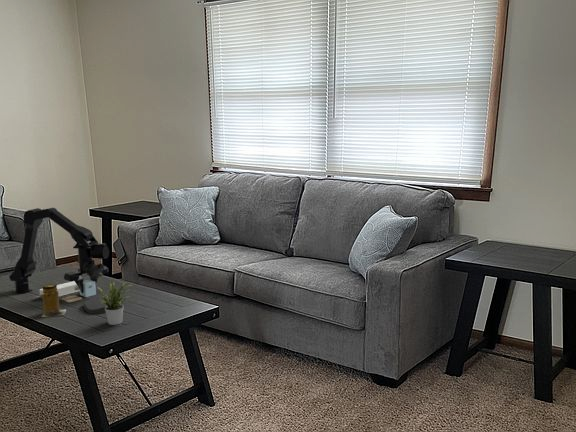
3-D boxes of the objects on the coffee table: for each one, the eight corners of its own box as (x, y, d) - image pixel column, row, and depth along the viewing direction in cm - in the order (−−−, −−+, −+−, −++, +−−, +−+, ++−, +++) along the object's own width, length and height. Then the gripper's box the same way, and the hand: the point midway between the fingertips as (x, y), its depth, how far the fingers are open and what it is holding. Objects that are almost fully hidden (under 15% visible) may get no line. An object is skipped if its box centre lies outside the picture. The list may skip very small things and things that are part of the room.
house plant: (144, 322, 212) (141, 281, 209) (111, 332, 202) (109, 290, 199) (124, 313, 222) (121, 275, 219) (92, 323, 211) (89, 282, 209)
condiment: (44, 311, 225) (42, 283, 223) (66, 309, 227) (64, 282, 225) (41, 317, 218) (38, 288, 216) (63, 315, 220) (61, 287, 218)
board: (61, 299, 240) (61, 298, 240) (74, 296, 244) (74, 295, 244) (69, 302, 236) (68, 301, 236) (81, 299, 241) (81, 297, 241)
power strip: (26, 300, 239) (26, 292, 239) (79, 286, 258) (78, 279, 258) (36, 304, 234) (35, 296, 233) (89, 290, 253) (88, 282, 253)
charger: (77, 294, 248) (76, 281, 247) (87, 291, 251) (86, 278, 250) (86, 297, 243) (85, 284, 242) (96, 294, 247) (95, 281, 246)
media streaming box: (89, 316, 220) (88, 309, 220) (82, 306, 233) (81, 299, 232) (125, 309, 228) (125, 302, 227) (117, 300, 240) (116, 293, 240)
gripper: (75, 265, 231) (78, 300, 234) (114, 256, 246) (116, 289, 248) (62, 261, 238) (64, 295, 241) (100, 252, 253) (102, 285, 255)
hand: (87, 291), depth 246 cm, fingers closed on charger, 5 cm apart
